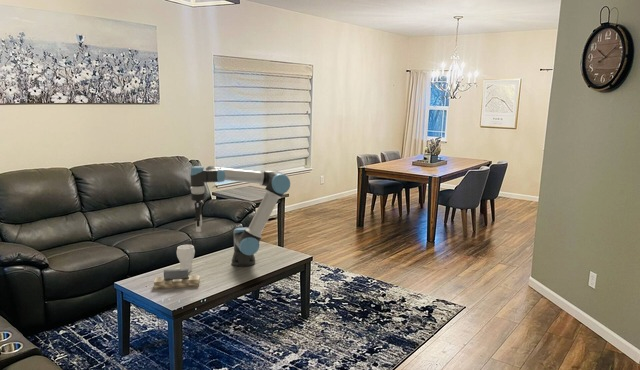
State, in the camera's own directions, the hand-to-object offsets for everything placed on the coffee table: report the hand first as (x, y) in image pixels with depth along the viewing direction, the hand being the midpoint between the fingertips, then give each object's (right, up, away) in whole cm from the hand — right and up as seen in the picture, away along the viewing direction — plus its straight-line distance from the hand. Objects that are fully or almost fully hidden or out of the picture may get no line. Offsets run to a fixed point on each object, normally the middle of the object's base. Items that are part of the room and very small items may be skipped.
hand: (199, 228), depth 271 cm
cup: (-11, -27, +13) cm, 32 cm away
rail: (-9, -31, -11) cm, 34 cm away
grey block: (-10, -30, -11) cm, 33 cm away
